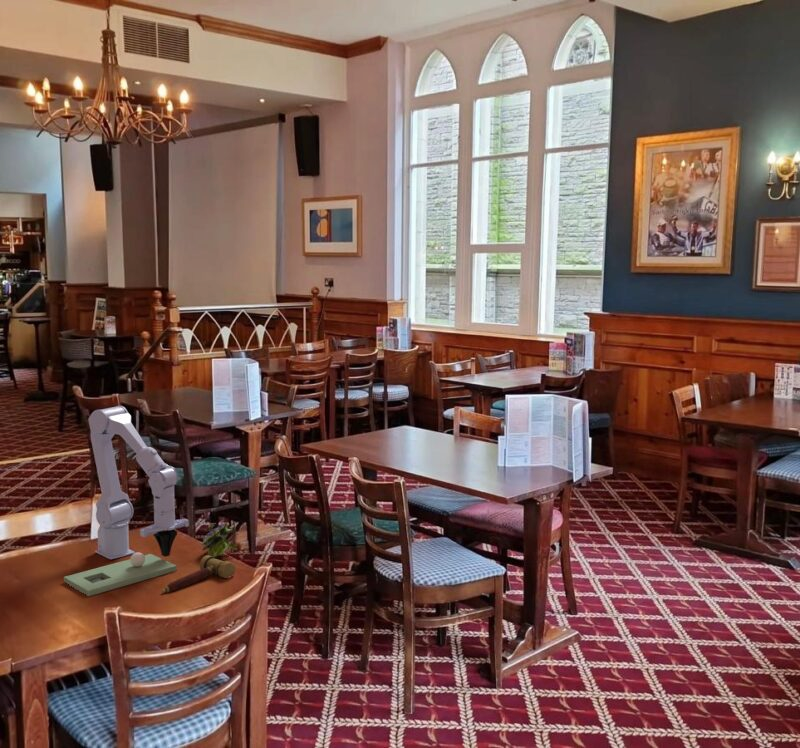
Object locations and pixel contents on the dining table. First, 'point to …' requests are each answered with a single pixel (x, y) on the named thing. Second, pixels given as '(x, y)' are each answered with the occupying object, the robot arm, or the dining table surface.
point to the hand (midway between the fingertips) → (165, 555)
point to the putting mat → (118, 575)
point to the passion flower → (218, 539)
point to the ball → (137, 559)
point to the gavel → (203, 573)
